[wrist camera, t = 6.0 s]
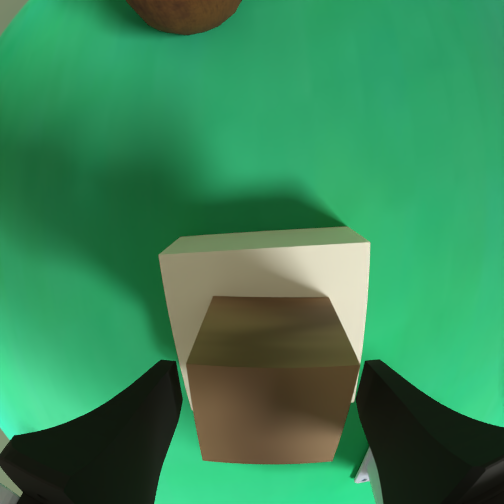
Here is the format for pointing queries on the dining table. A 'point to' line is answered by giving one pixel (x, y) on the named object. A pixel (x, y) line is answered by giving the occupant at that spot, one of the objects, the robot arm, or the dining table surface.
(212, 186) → the dining table surface
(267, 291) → the cream base block
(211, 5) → the wooden figurine
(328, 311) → the walnut cube
